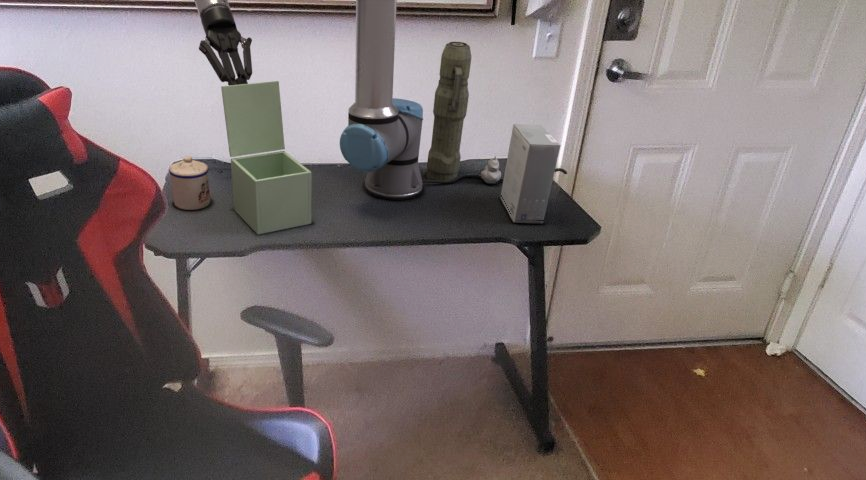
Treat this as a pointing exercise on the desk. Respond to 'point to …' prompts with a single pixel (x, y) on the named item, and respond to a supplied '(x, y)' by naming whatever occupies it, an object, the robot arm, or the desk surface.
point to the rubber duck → (491, 171)
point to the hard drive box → (529, 172)
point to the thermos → (449, 112)
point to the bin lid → (253, 118)
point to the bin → (271, 191)
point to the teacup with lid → (190, 184)
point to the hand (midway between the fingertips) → (246, 106)
